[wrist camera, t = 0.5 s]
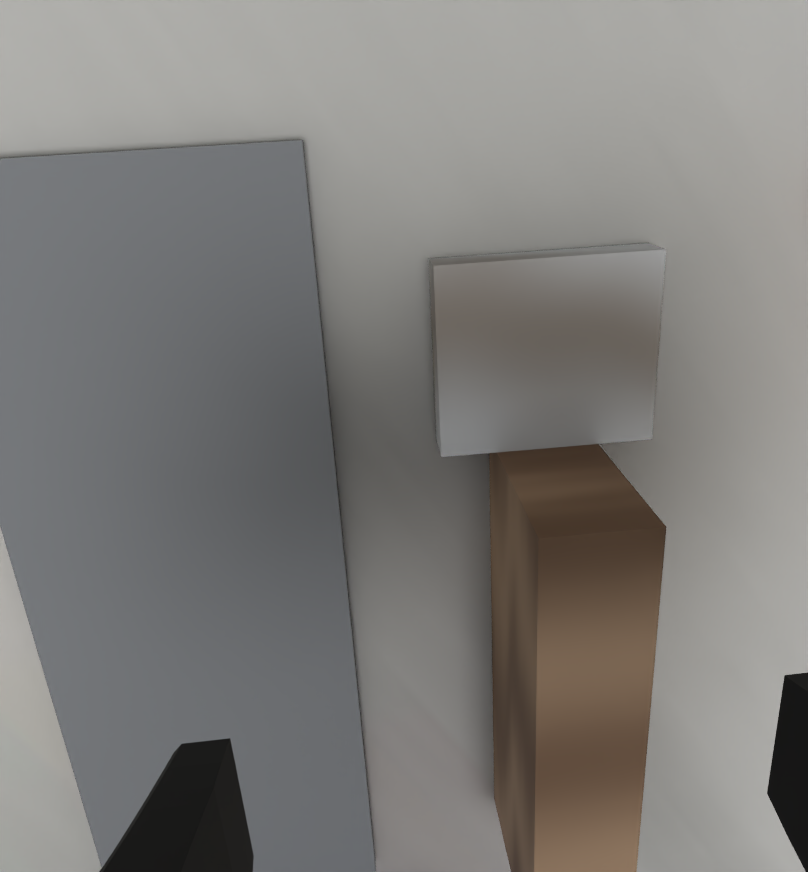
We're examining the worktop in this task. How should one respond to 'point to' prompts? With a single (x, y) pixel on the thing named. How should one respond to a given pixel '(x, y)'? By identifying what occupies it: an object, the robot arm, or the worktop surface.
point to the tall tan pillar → (561, 530)
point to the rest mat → (181, 485)
